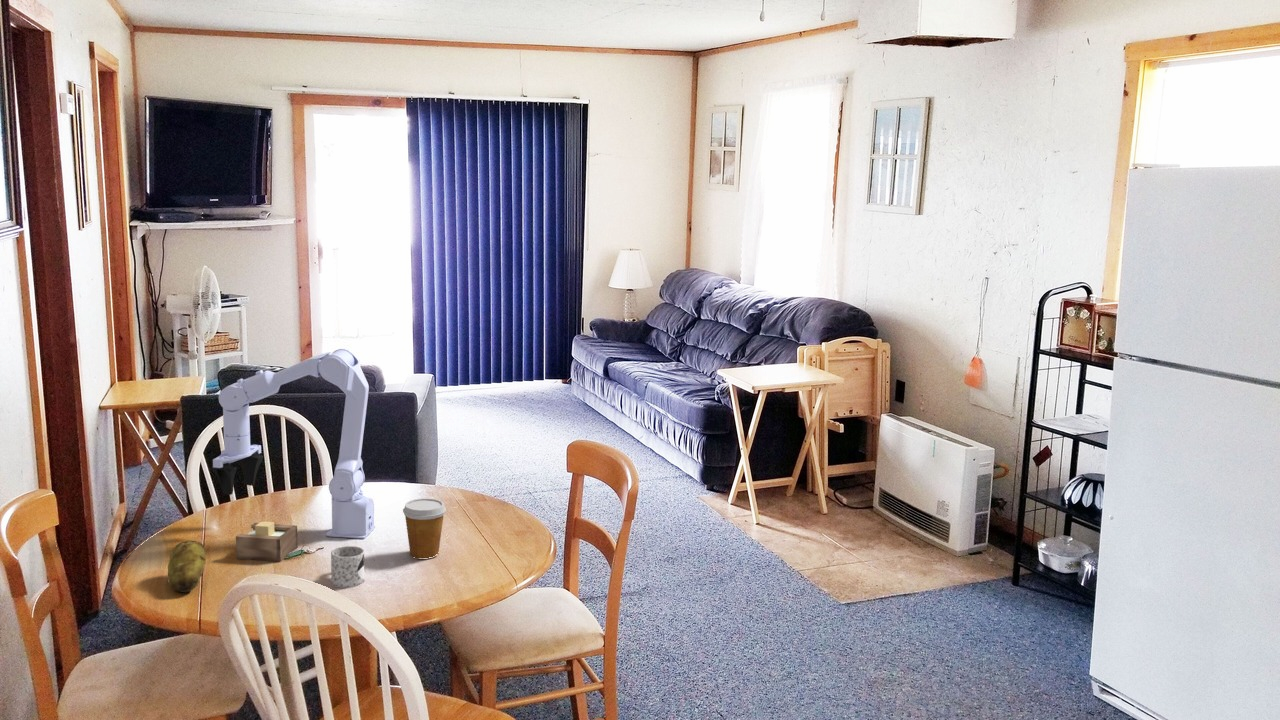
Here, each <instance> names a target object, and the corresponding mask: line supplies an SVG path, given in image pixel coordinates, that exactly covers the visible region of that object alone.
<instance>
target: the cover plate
mask: <svg viewBox="0 0 1280 720" xmlns="http://www.w3.org/2000/svg"><path fill="white" fill-rule="evenodd" d="M257 523H258V524H257V525H256V526H255V530H253V529H252V530H251V531H249V532H248V533H247V534H249V535H265V536H281V535H282V534H284V533H285V532H286V531H274V524H275V522H273V521H260V522H257Z"/></svg>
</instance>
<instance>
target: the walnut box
mask: <svg viewBox="0 0 1280 720" xmlns="http://www.w3.org/2000/svg"><path fill="white" fill-rule="evenodd" d="M258 523H259V522H254V523H253V524H251V526H250V528H251V529H252V531H253V530H255V526H256V525H257V524H258ZM274 531H286V532H285V533H284V534H282V535H281V536H265V535H249V534H248V533H247V534H246V533H245V534H244V533H239V534H237V535H236V536H235V549H236V550H235V552H236V553H235V554H236V556H235V557H236V560H245V559H255V560H254V561H261V560H262V562H263V561H265V562H276V563H277V562H280V563H281V562H282V561H283V560H285V559H286V558H287V557H288V556H289V555H290V554H291V553H293V552H294V551H295V550H296V549H298V525H291V524H276V523H274ZM292 551H293V552H292ZM290 552H291V553H290ZM289 553H290V554H289ZM288 554H289V555H288ZM287 555H288V556H287ZM286 556H287V557H286Z"/></svg>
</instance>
